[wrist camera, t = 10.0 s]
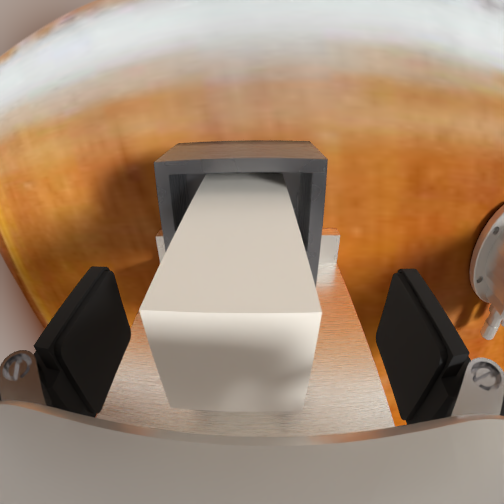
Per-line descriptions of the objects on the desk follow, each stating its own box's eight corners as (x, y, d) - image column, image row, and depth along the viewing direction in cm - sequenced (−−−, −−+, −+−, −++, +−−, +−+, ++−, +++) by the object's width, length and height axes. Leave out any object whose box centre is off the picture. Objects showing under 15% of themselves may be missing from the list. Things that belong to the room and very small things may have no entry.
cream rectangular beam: (279, 241, 18) (302, 410, 9) (210, 241, 18) (170, 407, 9) (282, 173, 16) (322, 311, 7) (206, 173, 16) (139, 309, 7)
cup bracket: (328, 290, 27) (373, 459, 13) (170, 290, 27) (118, 456, 13) (344, 132, 21) (490, 228, 7) (148, 135, 21) (-7, 233, 7)
